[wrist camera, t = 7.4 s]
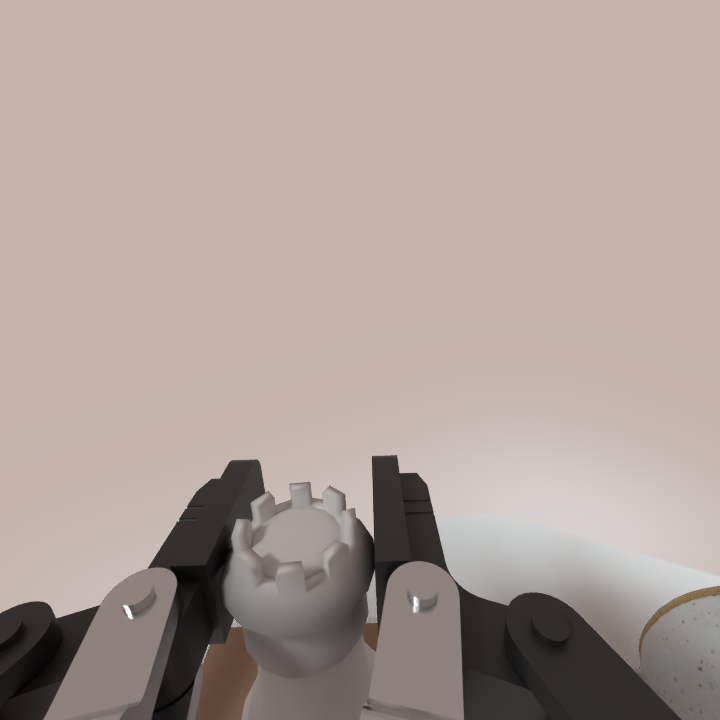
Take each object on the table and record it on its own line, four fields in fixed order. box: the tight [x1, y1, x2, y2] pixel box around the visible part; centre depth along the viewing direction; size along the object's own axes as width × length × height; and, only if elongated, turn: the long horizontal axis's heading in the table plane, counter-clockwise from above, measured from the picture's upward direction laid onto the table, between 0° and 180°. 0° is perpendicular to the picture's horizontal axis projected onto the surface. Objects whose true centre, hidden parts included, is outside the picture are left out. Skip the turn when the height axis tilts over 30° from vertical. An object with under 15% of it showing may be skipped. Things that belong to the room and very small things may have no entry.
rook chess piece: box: [219, 482, 376, 720], centre depth 9 cm, size 4×4×8 cm
